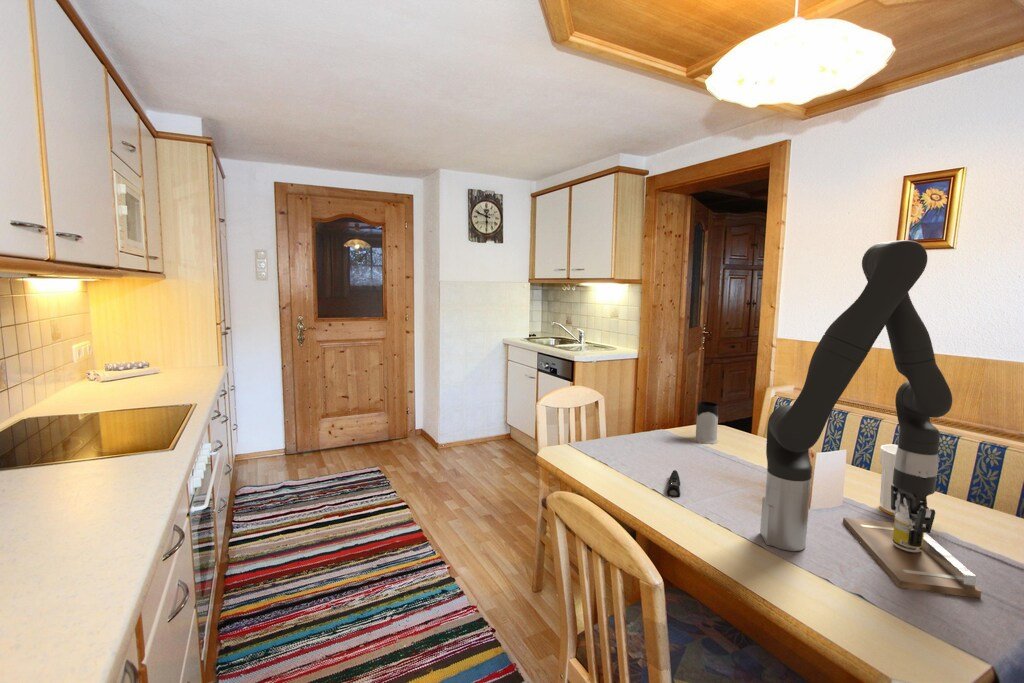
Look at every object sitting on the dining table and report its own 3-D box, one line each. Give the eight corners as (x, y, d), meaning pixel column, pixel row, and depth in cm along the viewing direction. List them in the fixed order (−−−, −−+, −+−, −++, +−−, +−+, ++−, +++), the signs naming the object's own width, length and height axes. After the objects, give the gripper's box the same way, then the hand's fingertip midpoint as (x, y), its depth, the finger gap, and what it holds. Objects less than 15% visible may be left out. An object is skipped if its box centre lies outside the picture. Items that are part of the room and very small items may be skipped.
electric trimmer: (681, 479, 156) (681, 470, 156) (680, 499, 141) (680, 488, 141) (668, 478, 157) (669, 468, 157) (666, 497, 143) (667, 486, 142)
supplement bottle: (908, 540, 115) (912, 501, 114) (928, 553, 110) (933, 512, 108) (886, 540, 115) (890, 501, 114) (904, 553, 110) (909, 512, 108)
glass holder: (694, 442, 191) (696, 405, 189) (693, 432, 204) (695, 397, 202) (718, 445, 188) (720, 407, 186) (715, 434, 201) (717, 399, 199)
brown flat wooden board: (899, 587, 100) (900, 580, 100) (842, 522, 127) (843, 517, 127) (980, 598, 97) (981, 590, 97) (904, 529, 124) (905, 523, 124)
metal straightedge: (963, 586, 98) (964, 574, 98) (896, 524, 123) (897, 515, 123) (975, 587, 98) (976, 576, 98) (905, 525, 123) (906, 516, 123)
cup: (878, 515, 131) (885, 454, 129) (870, 499, 141) (876, 441, 139) (932, 525, 126) (939, 461, 124) (920, 507, 136) (927, 448, 134)
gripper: (881, 456, 118) (874, 522, 120) (913, 479, 104) (904, 553, 106) (917, 459, 116) (909, 526, 118) (954, 483, 102) (945, 558, 104)
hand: (907, 538), depth 112 cm, fingers closed on supplement bottle, 5 cm apart
